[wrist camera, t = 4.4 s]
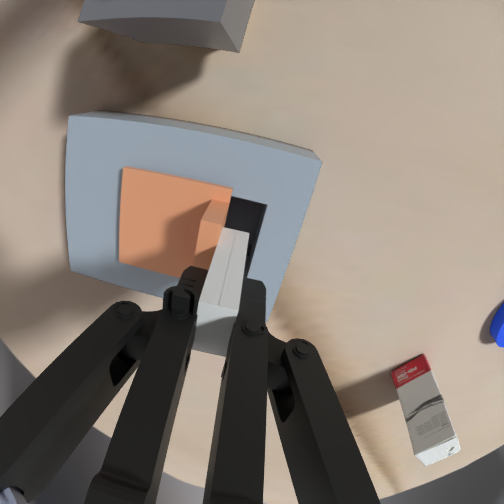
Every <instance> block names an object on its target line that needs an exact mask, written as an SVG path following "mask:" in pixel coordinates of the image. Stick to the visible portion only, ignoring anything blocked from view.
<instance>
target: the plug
mask: <svg viewBox="0 0 504 504" xmlns="http://www.w3.org/2000/svg"><path fill="white" fill-rule="evenodd" d="M254 1H255V0H84V3H83V6H82V9H81V13H80V16H79V19H78V22H80V23H83V24H87V25H91V26H94V27H97V28H101V29H104V30H107V31H110V32H113V33H116V34H119V35H122V36H125V37H128V38H131V39H134V40H136V41H139V42H142V43H160V44H175V45H186V46H195V47H204V48H211V49H218V50H225V51H231V52H236V53H240V49H241V46H242V42H243V38H244V35H245V31H246V28H247V24H248V21H249V18H250V14H251V11H252V8H253V4H254Z"/></svg>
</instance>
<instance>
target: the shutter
mask: <svg viewBox="0 0 504 504" xmlns="http://www.w3.org/2000/svg"><path fill="white" fill-rule="evenodd" d="M232 191H233V188H232V187H227V186H223V185H219V184H214V183H210V182H205V181H200V180H196V179H191V178H186V177H181V176H176V175H171V174H166V173H161V172H156V171H151V170H145V169H140V168H134V167H129V166H125V167H123V175H122V188H121V203H120V227H119V262H121V263H125V264H128V265H132V266H136V267H139V268H143V269H147V270H151V271H155V272H159V273H162V274H166V275H170V276H174V277H178V278H181V275H182V273H183V271H184V270H185V269H186V268H188V267H189V266H194V267H198V268H203V269H207V270H209V268H210V265H211V262H212V259H213V256H214V253H215V250H216V247H217V245H218V242H219V239H220V236H221V233H222V230H223V227H225V222H226V217H227V213H228V208H229V204H230V200H231V195H232Z"/></svg>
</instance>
